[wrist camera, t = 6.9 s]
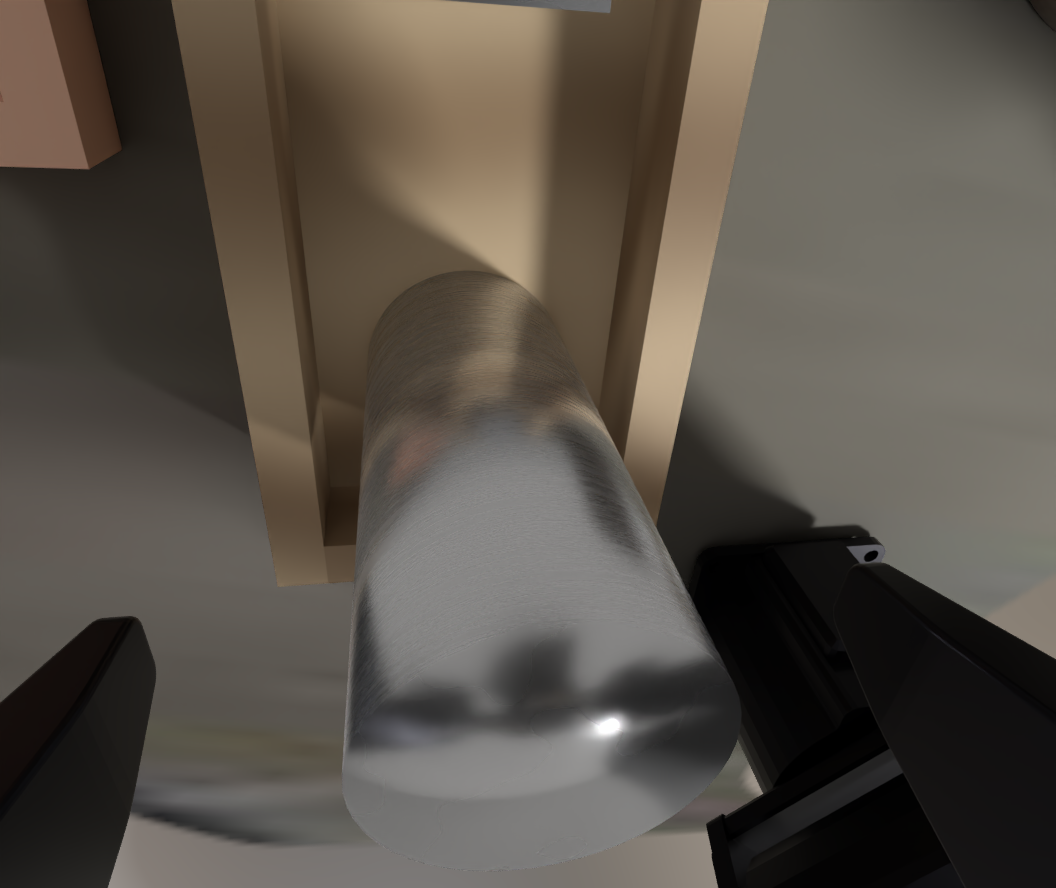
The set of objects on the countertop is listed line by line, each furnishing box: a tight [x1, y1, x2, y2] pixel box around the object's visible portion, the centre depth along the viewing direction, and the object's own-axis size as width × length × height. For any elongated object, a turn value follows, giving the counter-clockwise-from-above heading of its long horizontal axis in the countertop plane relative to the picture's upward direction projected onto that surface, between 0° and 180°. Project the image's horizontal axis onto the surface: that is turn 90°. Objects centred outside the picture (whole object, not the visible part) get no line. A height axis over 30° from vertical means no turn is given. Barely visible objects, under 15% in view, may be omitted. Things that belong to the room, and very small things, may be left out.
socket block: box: [171, 0, 769, 587], centre depth 12 cm, size 16×8×4 cm, turn 176°
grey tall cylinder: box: [342, 271, 742, 871], centre depth 11 cm, size 4×4×9 cm
